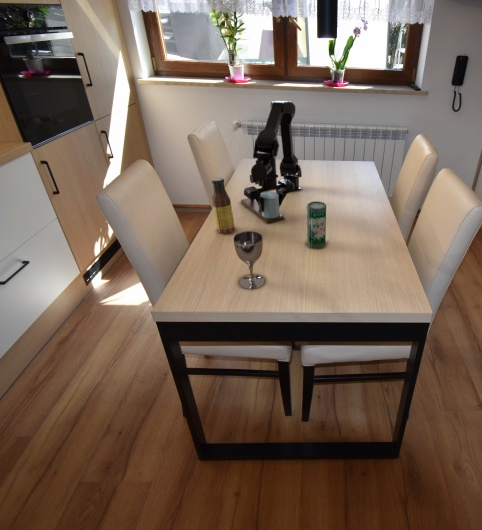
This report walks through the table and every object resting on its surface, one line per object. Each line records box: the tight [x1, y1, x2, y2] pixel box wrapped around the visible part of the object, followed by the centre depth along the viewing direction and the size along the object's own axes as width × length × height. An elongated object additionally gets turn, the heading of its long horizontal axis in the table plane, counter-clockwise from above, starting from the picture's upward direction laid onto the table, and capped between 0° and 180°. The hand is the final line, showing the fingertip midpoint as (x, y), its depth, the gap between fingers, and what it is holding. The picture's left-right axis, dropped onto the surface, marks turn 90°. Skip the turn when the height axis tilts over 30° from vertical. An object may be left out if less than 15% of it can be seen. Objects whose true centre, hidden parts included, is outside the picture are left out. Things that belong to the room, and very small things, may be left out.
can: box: [306, 200, 327, 250], centre depth 133 cm, size 6×6×15 cm
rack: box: [240, 197, 284, 224], centre depth 156 cm, size 7×23×6 cm, turn 37°
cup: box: [261, 191, 281, 218], centre depth 150 cm, size 7×7×8 cm
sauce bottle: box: [211, 176, 235, 234], centre depth 138 cm, size 7×6×20 cm
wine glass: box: [233, 230, 265, 290], centre depth 112 cm, size 8×8×15 cm
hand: (270, 209), depth 151 cm, fingers closed on cup, 7 cm apart
